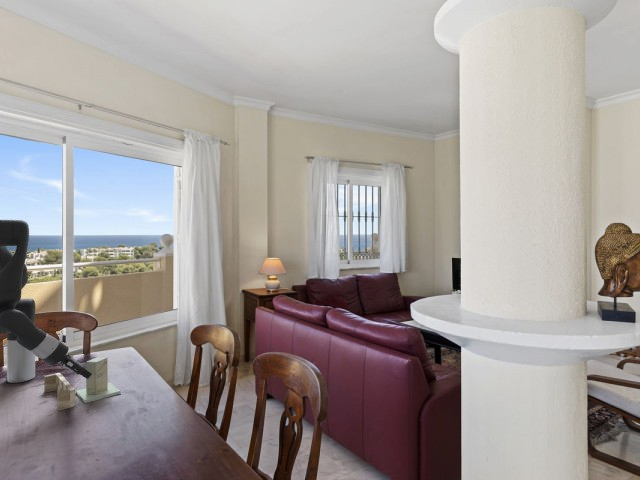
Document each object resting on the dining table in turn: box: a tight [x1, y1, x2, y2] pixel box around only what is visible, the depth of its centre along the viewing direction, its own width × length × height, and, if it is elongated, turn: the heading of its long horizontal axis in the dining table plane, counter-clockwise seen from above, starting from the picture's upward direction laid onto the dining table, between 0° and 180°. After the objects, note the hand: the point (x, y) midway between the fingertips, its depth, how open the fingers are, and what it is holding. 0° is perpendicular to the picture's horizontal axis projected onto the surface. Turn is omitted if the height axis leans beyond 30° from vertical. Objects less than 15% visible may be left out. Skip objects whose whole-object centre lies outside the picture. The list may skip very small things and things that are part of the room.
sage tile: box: [75, 381, 121, 404], centre depth 148 cm, size 12×12×1 cm
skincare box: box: [85, 356, 109, 394], centre depth 148 cm, size 6×4×12 cm
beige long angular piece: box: [43, 372, 76, 412], centre depth 143 cm, size 22×5×6 cm, turn 45°
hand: (86, 373), depth 145 cm, fingers open, 8 cm apart
